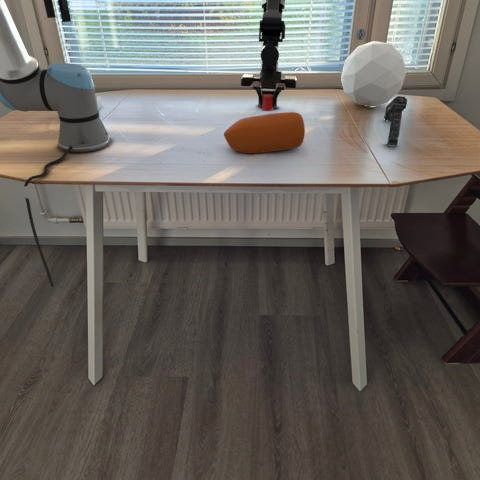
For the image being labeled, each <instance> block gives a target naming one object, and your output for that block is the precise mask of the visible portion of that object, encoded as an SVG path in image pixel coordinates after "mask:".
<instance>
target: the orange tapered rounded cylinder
mask: <svg viewBox="0 0 480 480" xmlns="http://www.w3.org/2000/svg"><path fill="white" fill-rule="evenodd" d="M305 126H306V125H305V121H304V118H303V116H302V114H301V113H299V112H295V111H288V112H287V111H285V112H275V113H274V112H273V113H267V114H260V115H254V116H253V115H252V116H248V117H243V118H241V119H238V120H236V122H234V123H233V124H232V125H230V126H229V127H228V128H226V129H225V131H224V132H223V137H224V140H225V141H226V143H227V144H228V146H229V147H230V148H231V149H233V150H234V151H237V152H240V153H243V154H257V153H258V154H259V153H268V152H276V151H285V150H289V149H296V148H298V147H301V145H302V144H303V142H304V139H305V134H306V127H305Z"/></svg>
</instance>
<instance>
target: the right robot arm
mask: <svg viewBox="0 0 480 480" xmlns="http://www.w3.org/2000/svg"><path fill="white" fill-rule="evenodd" d="M285 8H286V0H261V9H262V10H263V11H262V12H263V13H262V17H261V19H260V20H259V26H258V27H259V31H258V42H260V43H261V51H260V72H259V76H258V77H255V76H254V75H255V74H253V73H252V74H250V73H244V74H243V75H241V78H240V87H251V86H252V87H251V89H252V90H255V92H256V94H257V97H258V101H257V102H258V104H257V107H259V108H260V109H262V96H263V95H264V94H271V95H273V110H276V109H279V106H278V105H277V104H278V97H279V95H280V94H281V92H282V91H285V88H286V89H296V88H297V77H296V75H284V78H282V74H283V73H282V71H279V58H280V43H284V40H286V39H285V38H286V23H285V20H283V11H284V10H285Z"/></svg>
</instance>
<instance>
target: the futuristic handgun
mask: <svg viewBox="0 0 480 480" xmlns="http://www.w3.org/2000/svg"><path fill="white" fill-rule="evenodd" d="M407 105H408V99H407V97H406V96H400V95H398V96H396V97H393V98H392V99H391V100H390V101H389V102H388V104H387V105H386V106H385V110H384V115H383V121H385V122H389V124H390V125H389V132H388V137H387V141H386V142H387V143H386V146H395V147H396V146H398V142H399V137H400V129H401V124H402V116H403V112H404V110H406V109H407ZM384 119H385V120H384ZM386 120H388V121H386Z"/></svg>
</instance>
